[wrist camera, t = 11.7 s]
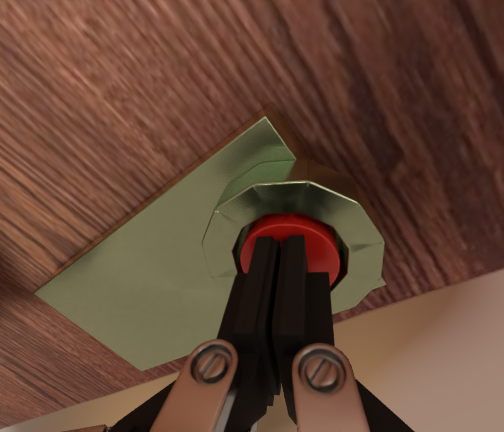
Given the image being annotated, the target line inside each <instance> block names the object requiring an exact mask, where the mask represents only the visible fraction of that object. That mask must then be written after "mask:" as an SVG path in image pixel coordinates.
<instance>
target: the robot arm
mask: <svg viewBox="0 0 504 432" xmlns="http://www.w3.org/2000/svg"><path fill="white" fill-rule="evenodd" d="M281 383H282V387H283V392H284V397H285V401H286V406H287V410H288V415H289V416H290V418H291V419H292V420H293V421H294V423H295V424H296V425H297V431H298V432H414V431H413V430H412V429H411V428H410V427H409V426H408V425H406V424H405V423H404V422H403V421H402V420H401V419H400V418H399V417H398V416H397V415H395V414H394V413H393V412H392V411H391V410H390V409H389V408H388V407H386V406H385V405H384V404H383V403H382V402H381V401H380V400H379V399H378V398H377V397H375V396H374V395H373V394H372V393H371V392H370V391H369V390H368V389H366V388H365V387H364V386H363V385H362V384H361V383H360V382H359V381H358V380H356V379H355V377H354V373H353V370H352V366H351V364H350V362H349V360H348V358H347V357H346V356H345V355H344V354H343V352H342V351H340V350H339V349H337V348H336V347H335V346H334V333H333V320H332V306H331V293H330V280H329V272H308V263H307V253H306V243H305V235H289V237H288V239H285V240H283V242H282V250H281V249H280V243H279V240H274V238H273V236H261V237H257V238H256V242H255V246H254V250H253V254H252V258H251V261H250V265H249V269H248V273H237V274H236V276H235V278H234V282H233V285H232V288H231V292H230V295H229V298H228V302H227V305H226V308H225V311H224V315H223V318H222V321H221V325H220V328H219V331H218V335H217V338H216V339H212V340H208V341H206V342H204V343H202V344H200V345H199V346H197V347H196V348H195V349H194V350H193V351H192V353H191V354H190V355H189V357H188V358H187V360H186V362H185V364H184V366H183V368H182V370H181V372H180V374H179V376H178V378H177V380H175V381H174V382H172V383H171V384H169V385H168V386H167V387H165V388H164V389H162V390H161V391H160V392H159V393H157V394H156V395H154V396H153V397H151V398H150V399H149V400H147V401H146V402H144V403H143V404H142V405H140V406H139V407H137V408H136V409H135V410H134V411H132V412H130V413H129V414H128V415H126V416H125V417H124V418H122V419H121V420H120V421H118V422H117V423H116V424H115V425H114V426H112V427H107V426H106V425H105V424H104V425H98V426H93V427H86V428H81V429H75V430H69V431H64V432H256V431H257V425H258V420H259V419H260V418H261V417H262V416H264V415H265V414H266V411H267V406H273V400H274V395H280V390H281Z"/></svg>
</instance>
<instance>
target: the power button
mask: <svg viewBox="0 0 504 432" xmlns="http://www.w3.org/2000/svg"><path fill="white" fill-rule="evenodd" d="M289 235H305V243H306V253H307V263H308V272H329V280H330V286H331V285H332V283H333V282H334V281H335V279H336V277H337V275H338V272H339V268H340V259H339V251H338V242H337V234H336V232H335V231H334V230H333V228H332V227H331V226H329V225H327V224H325V223H322V222H320V221H318V220H315V219H313V218H311V217H308V216H306V215H304V214H302V213H295V214H267V215H265V216H263V217H262V218H260V219H258V220H256V221H255V222H253V223H251V224H249V227H248V230H247V233H246V237H245V240H244V243H243V246H242V249H241V254H240V261H241V266H242V269H243V272H244V273H248V269H249V265H250V261H251V258H252V254H253V250H254V246H255V242H256V238H257V237H261V236H273V238H274V240H279V243H280V249H281V250H282V242H283V240H285V239H288V237H289Z"/></svg>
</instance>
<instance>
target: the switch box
mask: <svg viewBox="0 0 504 432" xmlns="http://www.w3.org/2000/svg"><path fill="white" fill-rule="evenodd" d="M295 213H302V214H304V215H306V216H308V217H311V218H313V219H315V220H318V221H320V222H322V223H325V224H327V225H329V226H331V227H332V228H333V230H334V231H335V232H336V234H337V242H338V251H339V259H340V268H339V272H338V275H337V277H336V279H335V281H334V282H333V283H332V285H331V286H330V293H331V306H332V315H333V314H336V313H339V312H342V311H345V310H348V309H351V308H353V307H355V306H356V305H357V304H358V303H359V302H360V301H361V300H362V299H363V298H364V297H365V296H366V295H367V294H368V293H369V292H370V291H371V290H373V289H376V288H379V287H382V286H384V285H386V280H385V277H384V273H383V270H382V265H383V256H384V247H385V241H384V237H383V234H382V231H381V228H380V225H379V222H378V219H377V216H376V213H375V211H374V210H373V208H372V207H371V205H370V204H369V202H368V201H367V199H366V198H365V196H364V195H363V193H362V192H361V190H360V189H359V187H358V186H357V184H356V182H355V181H353V180H352V179H351V178H350V177H347V176H345V175H343V174H341V173H339V172H336V171H334V170H332V169H330V168H327V167H325V166H323V165H321V164H319V163H316V162H314V161H313V160H312V158H311V157H310V155H309V154H308V152H307V151H306V150H305V148H304V147H303V145H302V144H301V142H300V141H299V140H298V138H297V137H296V135H295V134H294V132H293V131H292V130H291V128H290V127H289V125H288V124H287V122H286V121H285V120H284V118H283V117H282V115H281V114H280V112H279V111H278V109H277V108H276V107H275V105H274V104H273V103H270V104H269V105H267V106H266V107H265V108H264V109H262V110H261V111H260V112H259V113H257V114H256V115H255V116H253V117H252V118H251V119H250V120H248V121H247V122H246V123H244V124H243V125H242V126H241V127H239V128H238V129H237V130H235V131H234V132H233V133H232V134H230V135H229V136H228V137H226V138H225V139H224V140H223V141H221V142H220V143H219V144H217V145H216V146H215V147H214V148H212V149H211V150H210V151H208V152H207V153H206V154H205V155H203V156H202V157H201V158H200V159H198V160H197V161H196V162H194V163H193V164H192V165H191V166H189V167H188V168H187V169H185V170H184V171H183V172H182V173H180V174H179V175H178V176H176V177H175V178H174V179H173V180H171V181H170V182H169V183H167V184H166V185H165V186H164V187H162V188H161V189H160V190H158V191H157V192H156V193H155V194H153V195H152V196H151V197H149V198H148V199H147V200H146V201H144V202H143V203H142V204H141V205H139V206H138V207H137V208H135V209H134V210H133V211H132V212H130V213H129V214H128V215H126V216H125V217H124V218H123V219H121V220H120V221H119V222H117V223H116V224H115V225H114V226H112V227H111V228H110V229H108V230H107V231H106V232H105V233H103V234H102V235H101V236H99V237H98V238H97V239H96V240H94V241H93V242H92V243H90V244H89V245H88V246H87V247H85V248H84V249H83V250H82V251H80V252H79V253H78V254H76V255H75V256H74V257H73V258H71V259H70V260H69V261H67V262H66V263H65V264H64V265H62V266H61V267H60V268H58V269H57V270H56V271H55V272H54V273H53V274H52V275H51V276H50V277H49V278H48V279H47V280H46V281H45V282H44V283H43V284H42V285H41V286H39V287H38V288H37V289H36V290H35V291H34V292H33V293H34V294H35V295H36V296H38V297H39V298H41V299H42V300H43V301H45V302H46V303H47V304H49V305H50V306H52V307H53V308H54V309H56V310H57V311H59V312H60V313H61V314H63V315H64V316H65V317H67V318H68V319H70V320H71V321H72V322H74V323H75V324H76V325H78V326H79V327H81V328H82V329H83V330H85V331H86V332H88V333H89V334H90V335H92V336H93V337H94V338H96V339H97V340H99V341H100V342H101V343H103V344H104V345H105V346H107V347H108V348H110V349H111V350H112V351H114V352H115V353H117V354H118V355H119V356H121V357H122V358H123V359H125V360H126V361H128V362H129V363H130V364H132V365H133V366H134V367H136V368H137V369H139V370H140V371H144V370H147V369H150V368H152V367H155V366H158V365H161V364H164V363H167V362H169V361H172V360H175V359H178V358H181V357H183V356H186V355H189V354H191V353H192V351H193V350H194V349H195V348H196V347H197V346H199V345H200V344H202V343H204V342H206V341H208V340H212V339H216V338H217V335H218V331H219V328H220V325H221V321H222V318H223V315H224V311H225V308H226V305H227V302H228V298H229V295H230V292H231V288H232V285H233V282H234V278H235V276H236V274H237V273H244V272H243V269H242V266H241V261H240V254H241V249H242V246H243V243H244V240H245V237H246V233H247V230H248V227H249V224H251V223H253V222H255V221H256V220H258V219H260V218H262V217H263V216H265V215H267V214H295Z"/></svg>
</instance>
